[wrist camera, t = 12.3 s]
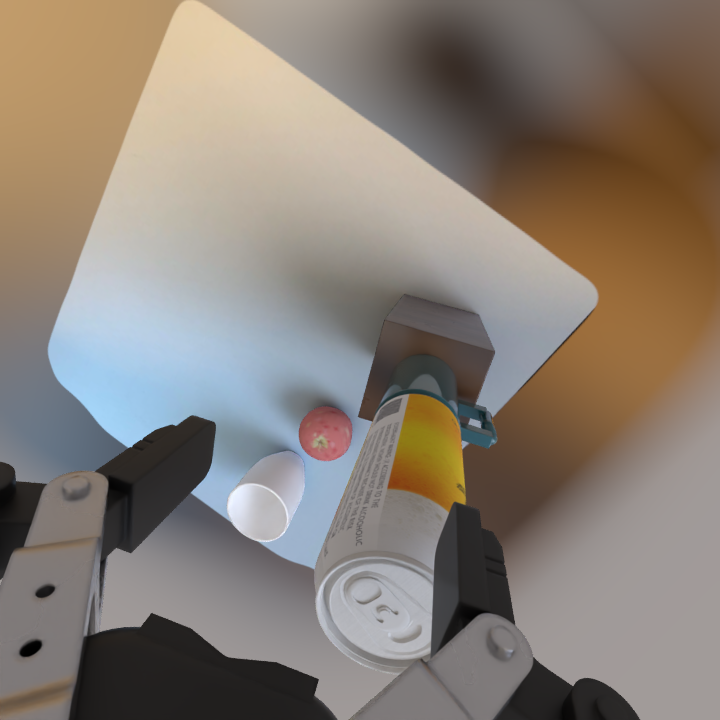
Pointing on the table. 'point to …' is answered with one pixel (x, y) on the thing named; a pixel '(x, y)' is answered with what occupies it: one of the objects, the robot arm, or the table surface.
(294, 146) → the table surface
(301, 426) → the apple
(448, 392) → the teal mug
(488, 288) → the table surface
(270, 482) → the mug
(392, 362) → the walnut stand
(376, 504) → the beer can
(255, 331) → the table surface
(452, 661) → the robot arm
